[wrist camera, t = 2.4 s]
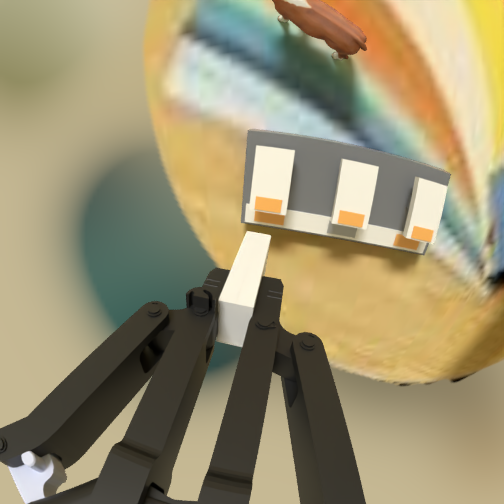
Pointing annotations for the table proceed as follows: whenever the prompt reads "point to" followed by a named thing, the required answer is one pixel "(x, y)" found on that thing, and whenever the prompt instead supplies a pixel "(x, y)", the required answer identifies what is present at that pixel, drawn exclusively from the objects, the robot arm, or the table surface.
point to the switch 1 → (271, 179)
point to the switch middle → (354, 194)
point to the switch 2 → (425, 210)
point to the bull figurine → (323, 25)
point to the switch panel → (325, 183)
